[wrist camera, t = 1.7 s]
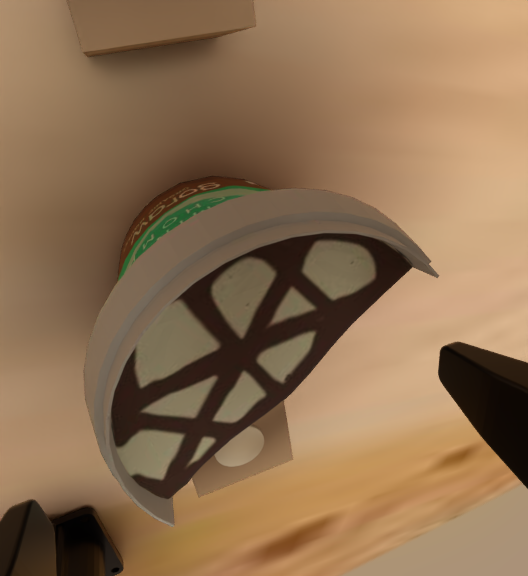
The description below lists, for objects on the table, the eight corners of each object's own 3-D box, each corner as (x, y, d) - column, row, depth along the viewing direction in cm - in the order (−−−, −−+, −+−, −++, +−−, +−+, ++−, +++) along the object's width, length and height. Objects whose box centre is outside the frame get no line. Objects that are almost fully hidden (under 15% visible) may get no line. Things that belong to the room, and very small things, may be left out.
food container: (225, 80, 17) (343, 90, 9) (309, 185, 21) (453, 263, 12) (26, 289, 18) (-34, 472, 10) (137, 357, 22) (161, 538, 13)
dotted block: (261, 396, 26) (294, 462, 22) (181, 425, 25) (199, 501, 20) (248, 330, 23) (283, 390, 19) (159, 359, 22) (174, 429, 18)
